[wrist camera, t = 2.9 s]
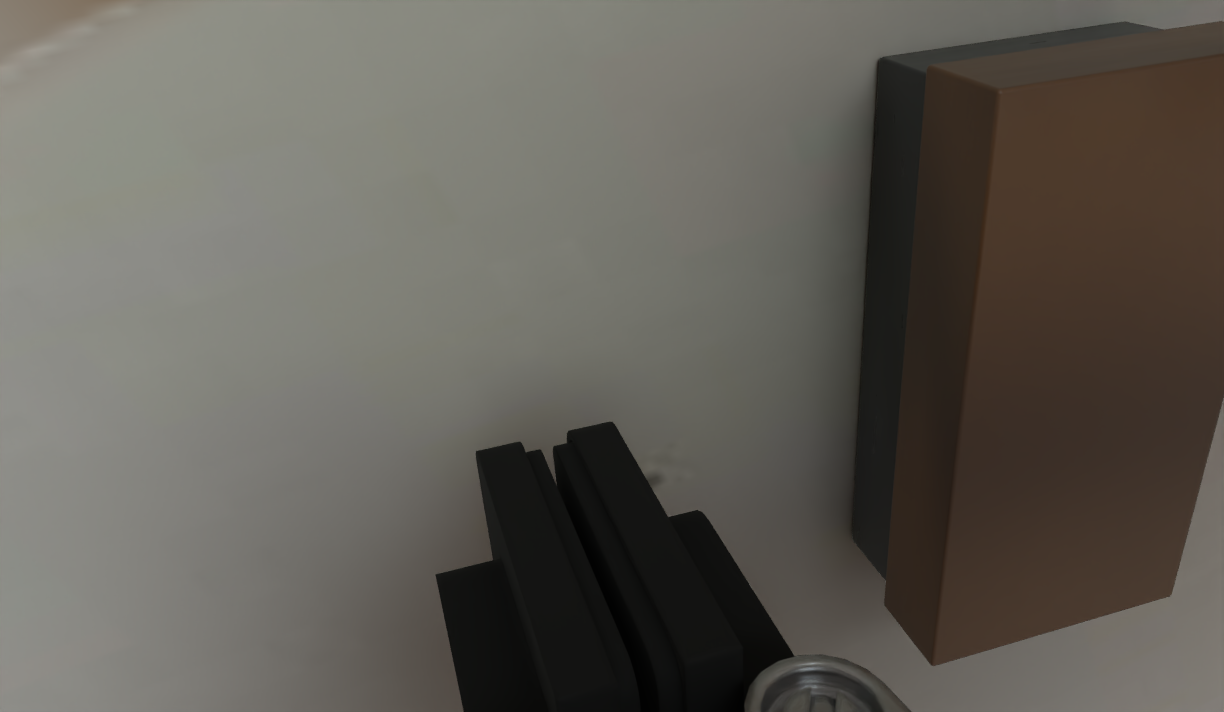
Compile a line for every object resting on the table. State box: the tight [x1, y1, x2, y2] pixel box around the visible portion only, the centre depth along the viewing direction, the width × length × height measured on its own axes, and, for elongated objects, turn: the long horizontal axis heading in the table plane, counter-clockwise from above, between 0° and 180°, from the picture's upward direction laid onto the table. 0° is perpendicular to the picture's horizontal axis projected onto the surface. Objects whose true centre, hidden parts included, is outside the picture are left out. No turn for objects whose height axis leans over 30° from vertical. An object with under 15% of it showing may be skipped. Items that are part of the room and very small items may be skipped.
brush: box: [852, 21, 1224, 666], centre depth 15 cm, size 9×4×3 cm, turn 4°
